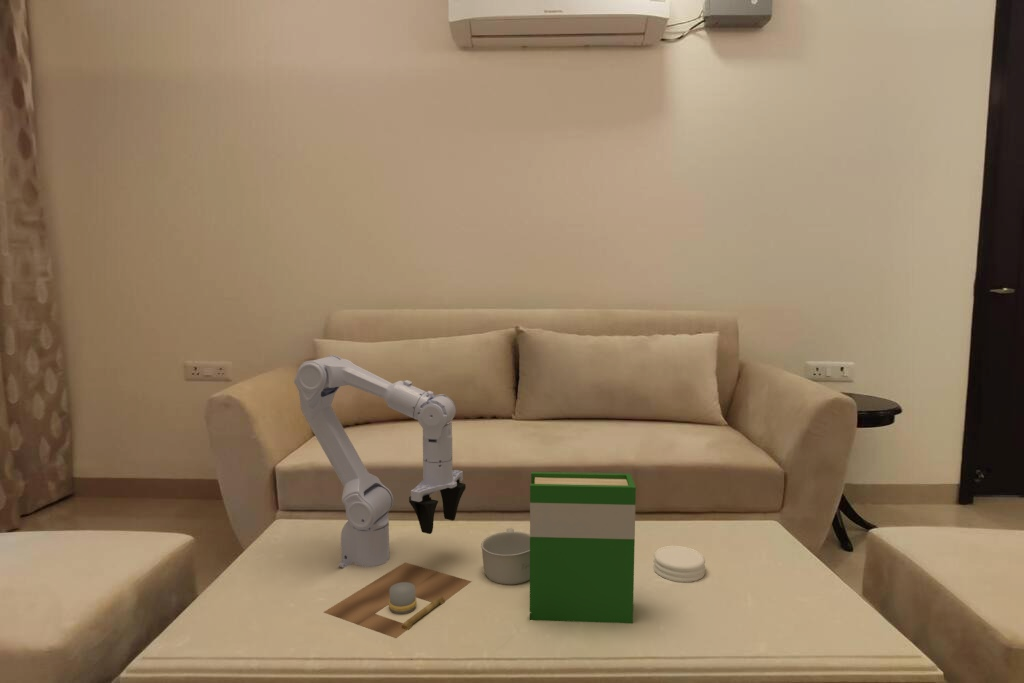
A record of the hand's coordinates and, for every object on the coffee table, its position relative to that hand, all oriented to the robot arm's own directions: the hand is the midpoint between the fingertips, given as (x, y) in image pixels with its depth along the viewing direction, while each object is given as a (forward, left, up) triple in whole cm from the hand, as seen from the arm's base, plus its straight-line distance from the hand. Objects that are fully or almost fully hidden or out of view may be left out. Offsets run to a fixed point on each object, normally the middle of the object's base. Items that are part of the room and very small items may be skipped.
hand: (438, 525), depth 129 cm
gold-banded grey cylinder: (+4, -16, -10) cm, 19 cm away
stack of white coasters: (+41, +25, -10) cm, 49 cm away
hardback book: (+30, +1, -10) cm, 32 cm away
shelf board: (+1, -13, -10) cm, 16 cm away
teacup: (+13, +6, -10) cm, 18 cm away
